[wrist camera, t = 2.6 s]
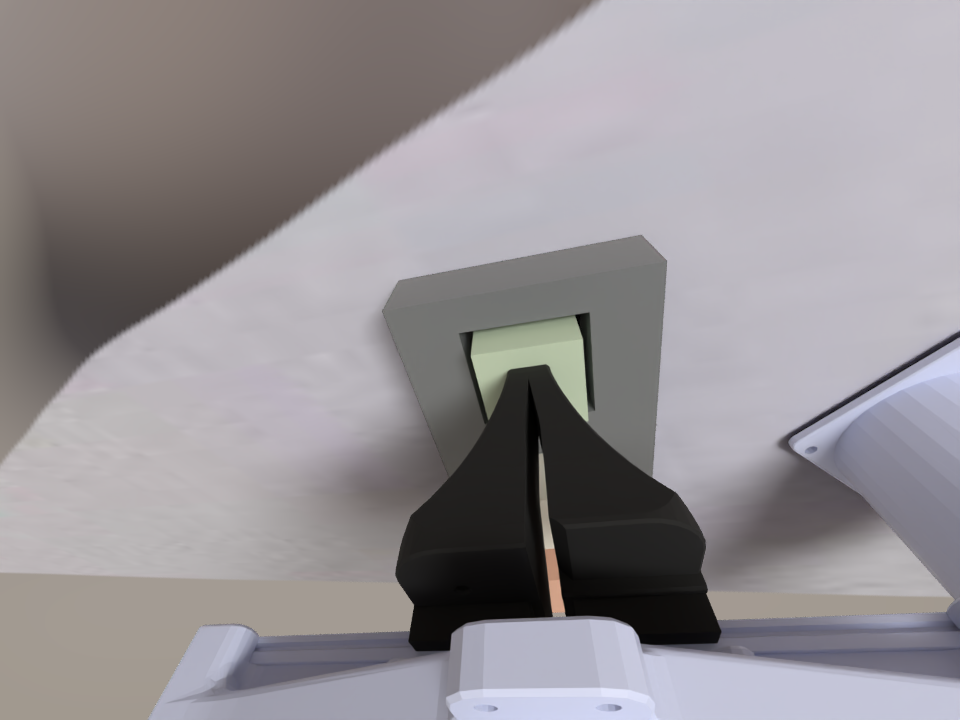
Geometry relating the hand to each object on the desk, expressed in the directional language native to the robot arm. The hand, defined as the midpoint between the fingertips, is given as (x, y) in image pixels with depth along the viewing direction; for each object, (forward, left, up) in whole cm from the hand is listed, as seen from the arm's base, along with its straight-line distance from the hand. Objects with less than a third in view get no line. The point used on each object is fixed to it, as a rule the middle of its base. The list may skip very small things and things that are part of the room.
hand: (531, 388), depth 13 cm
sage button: (0, 0, -3) cm, 3 cm away
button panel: (-5, +5, -3) cm, 7 cm away
